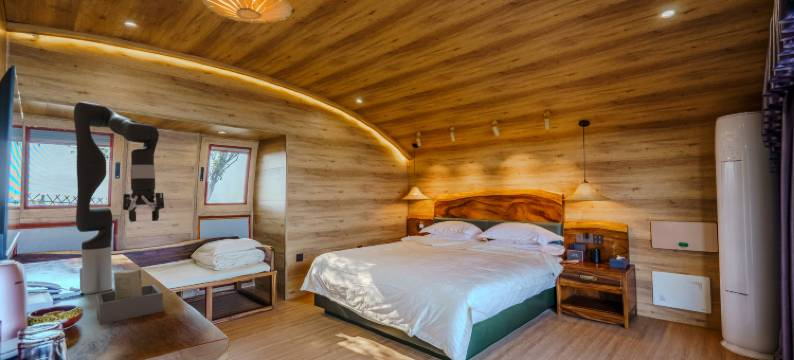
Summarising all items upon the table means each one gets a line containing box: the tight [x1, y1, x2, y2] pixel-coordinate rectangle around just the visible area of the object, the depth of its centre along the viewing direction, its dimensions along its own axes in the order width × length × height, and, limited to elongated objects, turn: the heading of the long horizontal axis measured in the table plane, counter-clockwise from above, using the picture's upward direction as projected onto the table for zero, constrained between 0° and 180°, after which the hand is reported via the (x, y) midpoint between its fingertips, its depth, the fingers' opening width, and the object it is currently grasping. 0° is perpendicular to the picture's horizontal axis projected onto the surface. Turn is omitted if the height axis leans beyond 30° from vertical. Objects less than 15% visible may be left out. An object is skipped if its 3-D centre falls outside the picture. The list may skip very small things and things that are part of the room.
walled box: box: [96, 283, 164, 326], centre depth 122 cm, size 16×16×6 cm
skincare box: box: [113, 269, 143, 301], centre depth 122 cm, size 6×4×12 cm
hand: (144, 221), depth 139 cm, fingers open, 8 cm apart
